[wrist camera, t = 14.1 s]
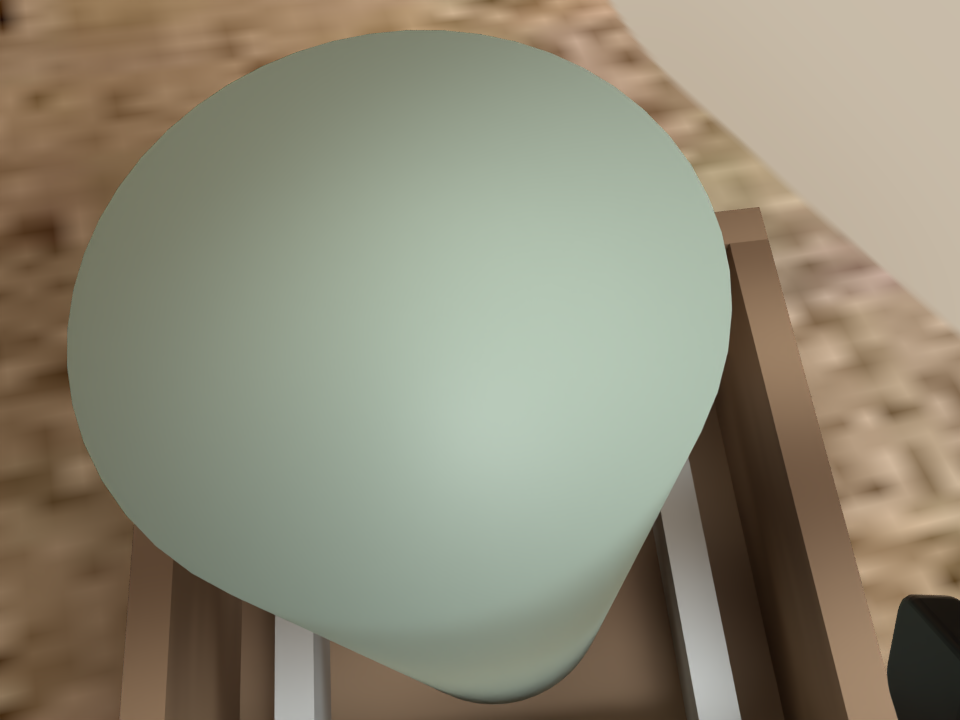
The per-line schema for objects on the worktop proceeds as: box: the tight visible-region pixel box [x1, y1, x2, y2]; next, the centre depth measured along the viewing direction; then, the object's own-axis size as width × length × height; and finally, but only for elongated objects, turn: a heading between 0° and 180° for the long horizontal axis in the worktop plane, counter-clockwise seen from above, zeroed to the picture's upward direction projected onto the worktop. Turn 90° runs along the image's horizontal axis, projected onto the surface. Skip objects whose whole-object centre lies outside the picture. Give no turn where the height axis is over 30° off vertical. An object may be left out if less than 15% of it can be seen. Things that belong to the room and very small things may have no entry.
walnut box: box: [119, 207, 898, 720], centre depth 18 cm, size 13×13×5 cm
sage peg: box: [67, 30, 732, 705], centre depth 13 cm, size 5×5×14 cm
